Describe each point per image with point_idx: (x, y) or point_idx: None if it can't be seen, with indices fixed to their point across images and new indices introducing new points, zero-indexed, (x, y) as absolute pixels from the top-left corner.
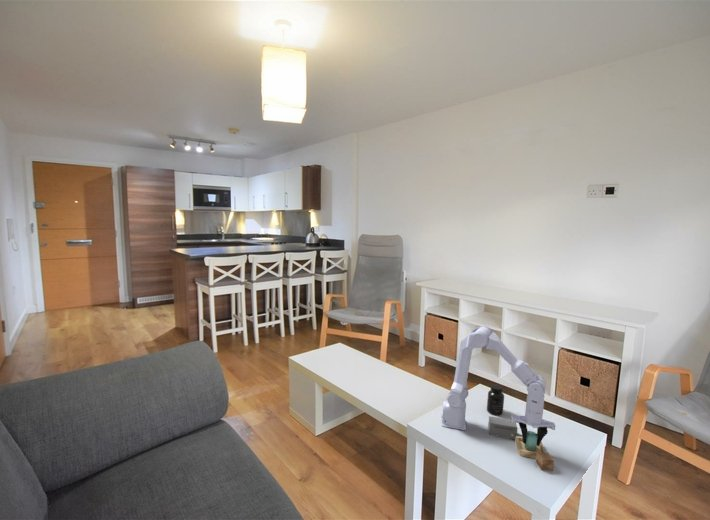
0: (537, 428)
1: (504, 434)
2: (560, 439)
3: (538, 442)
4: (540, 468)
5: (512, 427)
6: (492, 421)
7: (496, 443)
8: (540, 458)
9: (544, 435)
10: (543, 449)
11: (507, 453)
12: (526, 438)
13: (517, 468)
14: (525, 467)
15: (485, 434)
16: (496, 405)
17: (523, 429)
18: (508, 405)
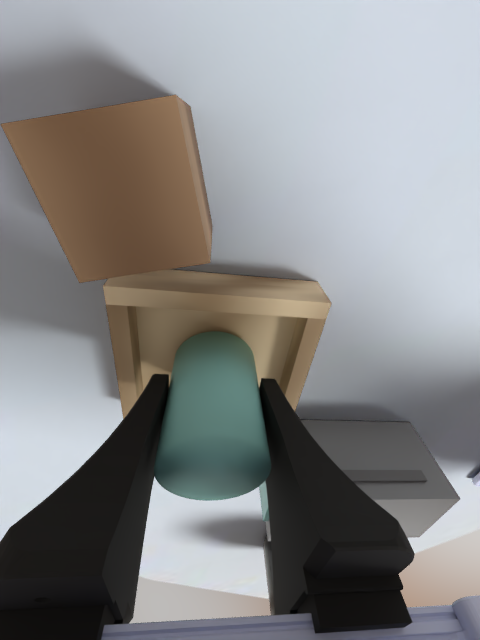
0: (141, 549)
1: (338, 435)
2: (12, 463)
3: (157, 397)
4: (193, 124)
5: None
6: (432, 510)
7: (414, 365)
8: (189, 158)
9: (67, 487)
10: (121, 354)
11: (397, 285)
12: (262, 418)
13: (428, 83)
14: (336, 121)
15: (431, 418)
16: None
17: (374, 529)
18: (222, 566)
